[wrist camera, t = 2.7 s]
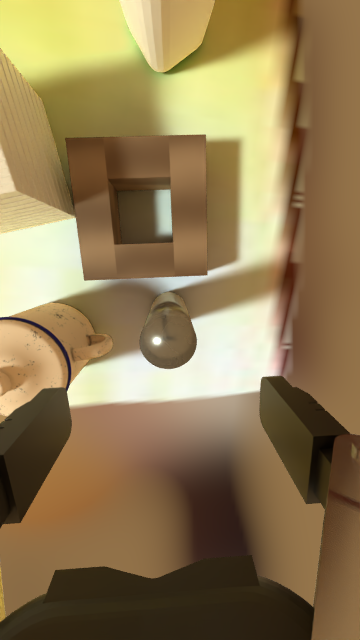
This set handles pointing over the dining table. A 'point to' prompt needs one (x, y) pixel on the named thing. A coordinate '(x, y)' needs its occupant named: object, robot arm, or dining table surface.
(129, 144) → the socket block
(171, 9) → the cup
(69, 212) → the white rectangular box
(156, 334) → the metal pin
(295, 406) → the robot arm
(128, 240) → the dining table surface
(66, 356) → the teacup with lid
